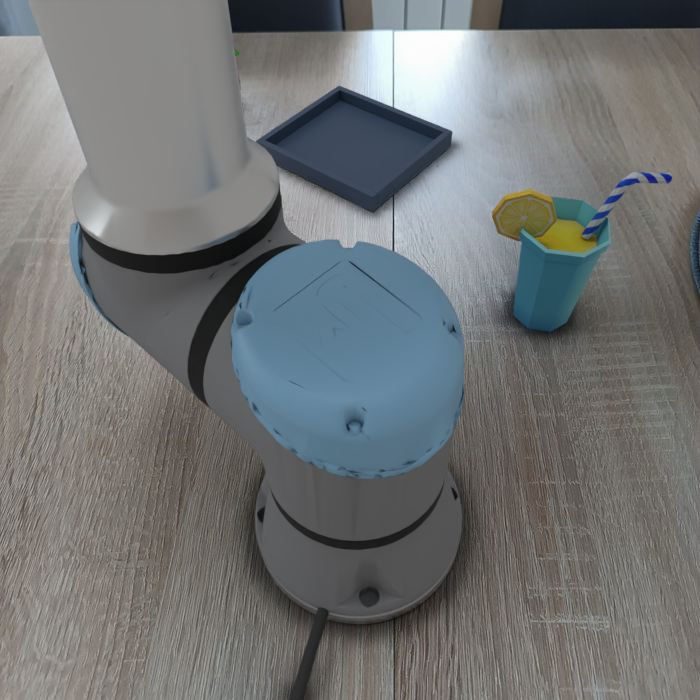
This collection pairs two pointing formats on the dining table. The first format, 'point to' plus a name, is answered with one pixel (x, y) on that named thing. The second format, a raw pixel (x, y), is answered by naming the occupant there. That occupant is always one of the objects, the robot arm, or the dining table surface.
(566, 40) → the dining table surface
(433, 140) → the tray
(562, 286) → the cup
